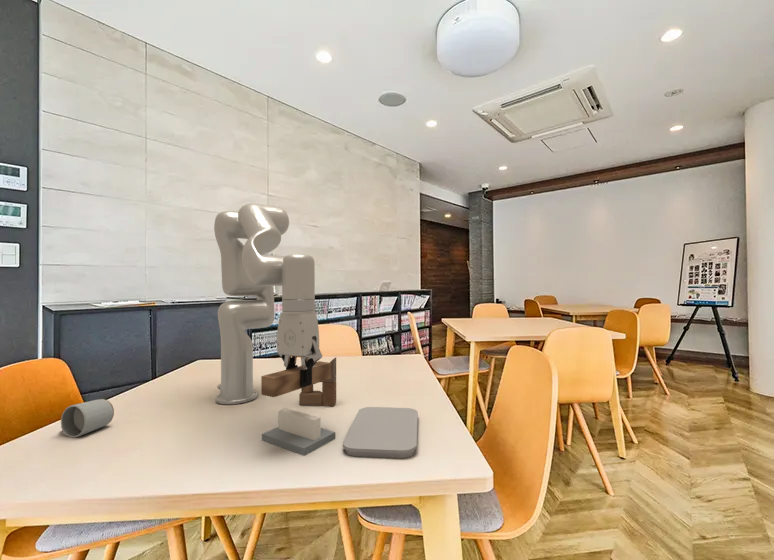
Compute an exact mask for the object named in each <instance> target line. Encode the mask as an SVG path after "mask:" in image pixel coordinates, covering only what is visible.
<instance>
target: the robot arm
mask: <svg viewBox="0 0 774 560" xmlns="http://www.w3.org/2000/svg"><path fill="white" fill-rule="evenodd" d="M289 225H290V219H289V215H288V213H287V212H286V210H284V209H283V208H282V207H280V206H276V205H267V204H260V203H246V204H244V205H242V206H241V207H240V208H239V210H238V211H237V210H236V211H235V210H225V211H221V212H219V213H218V214H217V215H216V216H215V219H214V226H213V229H214V230H213V231H214V237H215V240H216V243H217V246H218V249H219V252H220V263H221V264H220V265H221V267H220V269H221V286H222V291H223V293H224V294H225V295H227V296H230V297H231V296H232V297H256V299H239V300H238V299H237V300H235V299H234V300H228V301H225V302H223V303H221V304H220V306H219V307H218V309H217V321H218V326H219V333H220V383H219V384H217V386H216V388H217V389H218V390H219V394H217V395H216V396H215V398H214V399H215V402H216V403H218V404H219V405H220V404H222V405H237V404H244V403H248V402H251V401H254V400H255V399H257V398H258V396H259V395H258V394H259V392H258V391H257V390H255V389H254V373H253V372H254V367H253V366H254V348H253V346H254V345H253V341H252V338H251V337H250V336H249V335H248V334H247V332H246V331H245V330H252V329H253V330H254V329H262V328H268V327H270V326H271V325H273V323H274V320H275V312H276V311H275V292H274V289H275V288H274V287H277V286H279V287H282V288H281V289H282V290H281V291H282V292H281V296H282V297H281V298H282V299H281V307H282V308H281V309H282V310H281V312H280V314H279V317H278V325H277V330H276V331H277V332H276V333H277V334H276V335H277V336H276V353H277V354H278V356H279V357H281V360H282V361H283V366H284V368H285V370H287V369H291V368H295V367H299V366H298V364H297V361H298V360H297V358H300V362H301V363H302V370H300V386H301V387H306V386H309V385H311V384H312V368H313V367H314V365H315V363H316V362H318V361H320V360H321V359H323V354H322V352H321V350H320V331H319V322H318V315H317V313H316V306H315V305H316V304H315V303H316V302H315V301H316V300H315V299H316V298H315V296H316V294H315V293H316V291H315V289H316V287H315V280H316V279H315V278H316V277H315V273H316V272H315V258H314V257H313V256H311V255H309V254H300V253H299V254H288V255H272V254H271V255H266V254H268V253H270V252H273V251H274V250H275V249H277V248H278V247H279V245H280V243H281V241H282V236H283V235H285V234H286V233H287V231H288V229H289ZM239 239H240V240H239ZM241 239H243V240H246V241H245V244H243V243H242V242H241ZM306 358H308V361H306Z"/></svg>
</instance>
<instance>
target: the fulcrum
mask: <svg viewBox="0 0 774 560" xmlns="http://www.w3.org/2000/svg"><path fill="white" fill-rule="evenodd" d="M277 411H278V415H277V417H278V418H277V419H278V420H277V423H278V427H274V428H272V429H270V430H267V431H266V432H263V433H261V441H263V442H266V443H268V444H272V445H274V446H277V447H280V448H282V449H286V450H288V451H291V452H294V453H297V454H299V455H303V456H306V455H308V454H310V453H311V452H314V451H315V450H317V449H319V448H321V447H323V446H324V445H326V444H328V443H330V442H332V441H334V440H335V439H336V431H332V430H329V429H327V428H326V429H325V428H322V427H321V417H319V416H316V415H312V414H308V413H305V412H301V411H297V410H293V409H290V408H287V407H284V408H281V409H278V410H277Z"/></svg>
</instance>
